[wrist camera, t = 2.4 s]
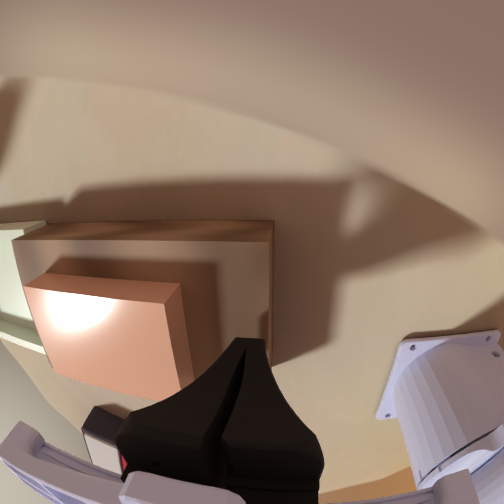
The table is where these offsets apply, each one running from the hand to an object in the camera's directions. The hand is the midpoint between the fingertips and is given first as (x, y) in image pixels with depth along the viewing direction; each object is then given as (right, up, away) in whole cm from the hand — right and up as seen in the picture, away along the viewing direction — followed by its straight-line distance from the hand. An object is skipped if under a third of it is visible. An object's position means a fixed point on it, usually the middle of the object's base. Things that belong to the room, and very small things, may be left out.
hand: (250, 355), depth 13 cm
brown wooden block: (-7, +2, +6) cm, 9 cm away
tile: (-8, 0, +2) cm, 8 cm away
